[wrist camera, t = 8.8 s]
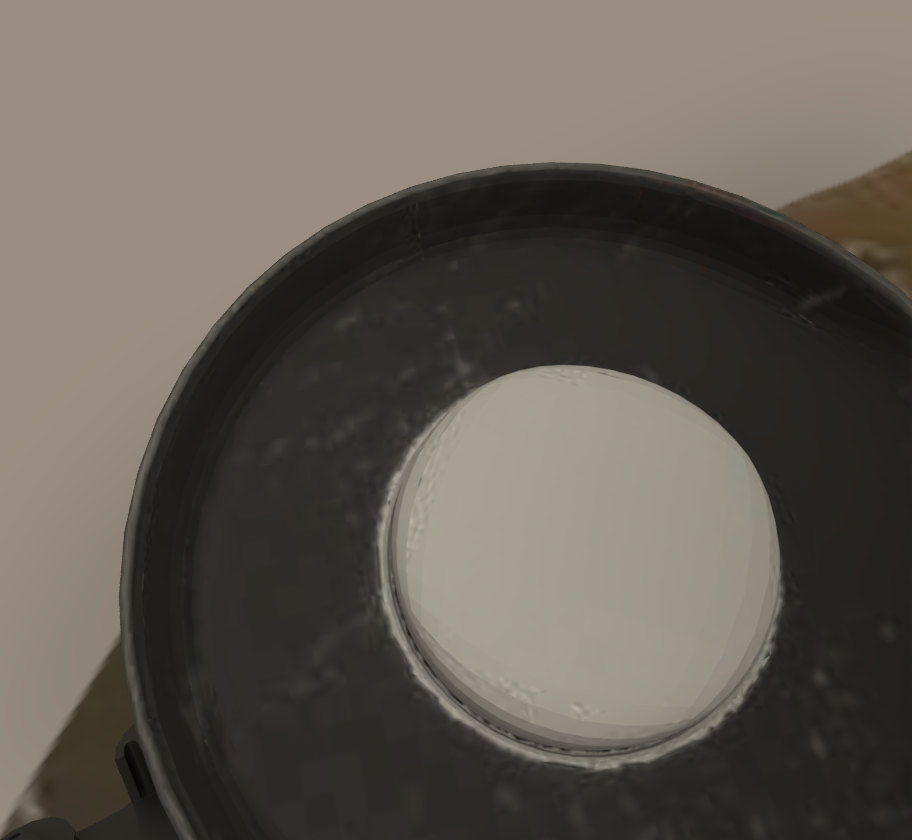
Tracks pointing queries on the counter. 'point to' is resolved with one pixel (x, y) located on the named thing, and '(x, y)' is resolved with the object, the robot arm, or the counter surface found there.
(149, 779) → the robot arm
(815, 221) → the counter surface
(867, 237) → the counter surface
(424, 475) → the travel mug
